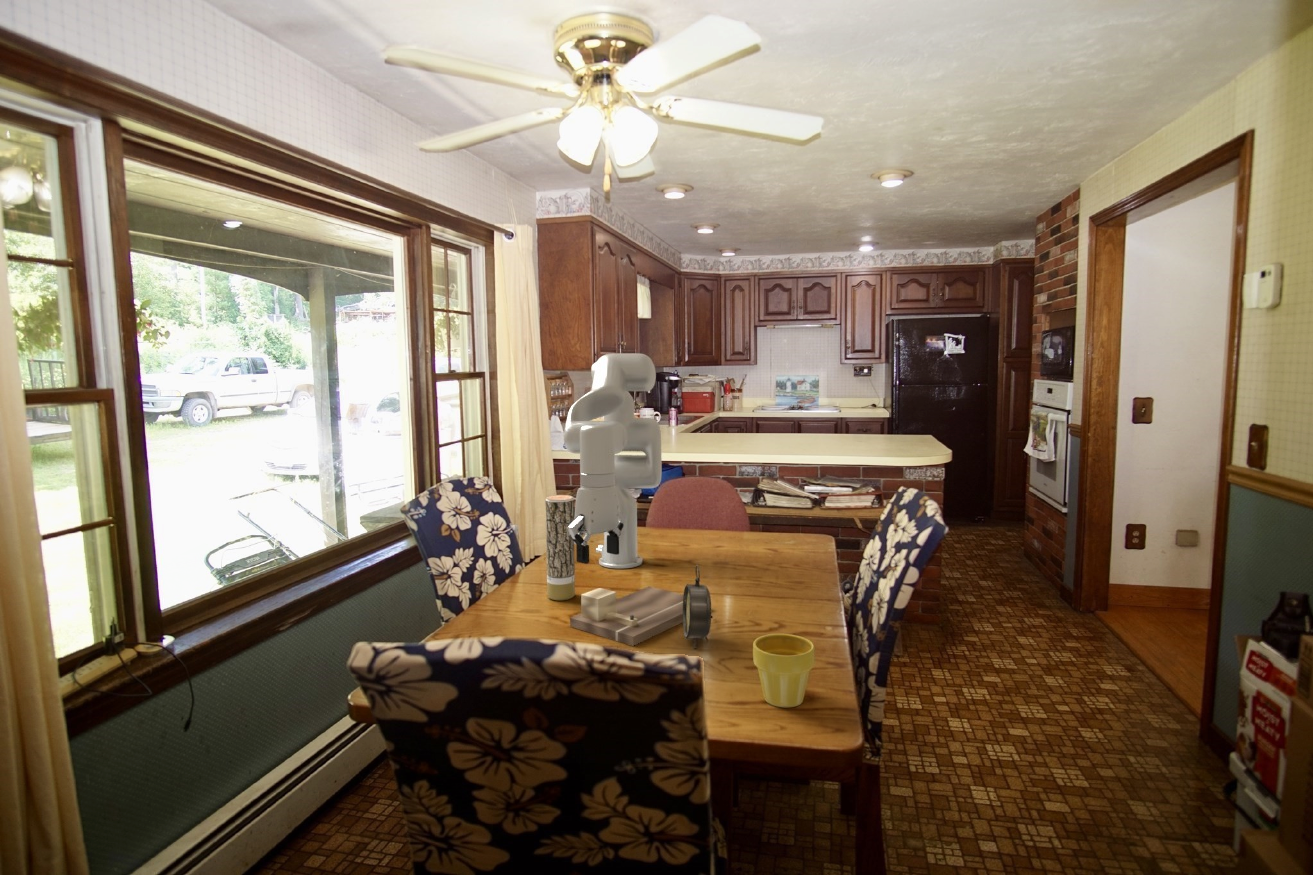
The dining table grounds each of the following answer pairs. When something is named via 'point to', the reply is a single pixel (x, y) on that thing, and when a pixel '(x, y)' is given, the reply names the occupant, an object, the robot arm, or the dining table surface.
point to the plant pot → (783, 667)
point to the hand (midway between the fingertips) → (598, 558)
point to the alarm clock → (696, 610)
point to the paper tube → (560, 547)
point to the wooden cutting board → (638, 616)
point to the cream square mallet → (603, 607)
